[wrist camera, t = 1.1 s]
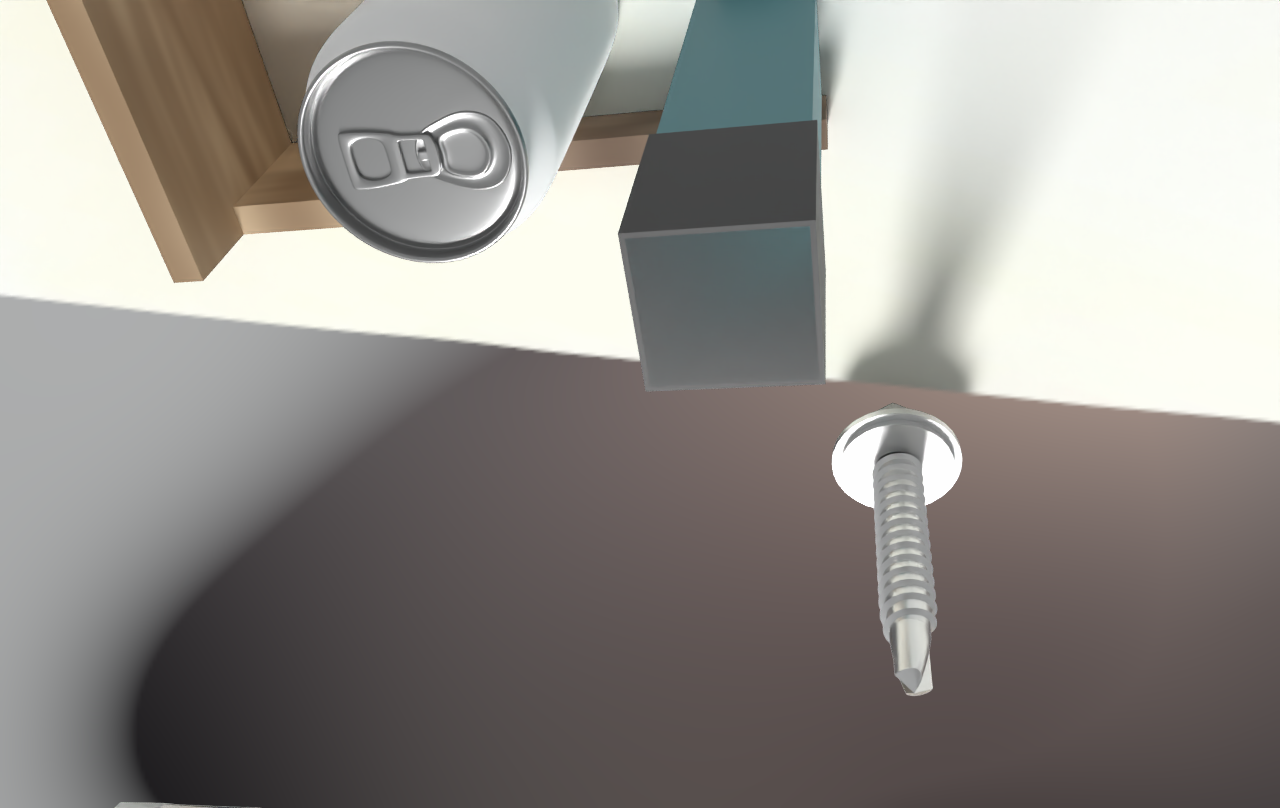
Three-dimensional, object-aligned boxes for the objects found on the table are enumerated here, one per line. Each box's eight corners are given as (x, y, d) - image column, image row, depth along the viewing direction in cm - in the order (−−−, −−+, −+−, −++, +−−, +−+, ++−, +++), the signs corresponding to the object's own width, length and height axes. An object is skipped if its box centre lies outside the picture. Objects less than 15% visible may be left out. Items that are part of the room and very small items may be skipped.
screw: (867, 362, 42) (980, 407, 43) (811, 450, 45) (918, 491, 46) (880, 619, 32) (1029, 674, 32) (806, 711, 35) (945, 760, 35)
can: (634, 90, 37) (568, 271, 27) (450, 106, 38) (327, 285, 29) (603, -118, 33) (514, 8, 24) (400, -93, 34) (239, 37, 25)
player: (817, -142, 32) (810, 124, 17) (828, 76, 35) (829, 454, 20) (706, -127, 32) (601, 141, 17) (728, 86, 36) (658, 459, 21)
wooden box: (810, -215, 31) (807, -159, 25) (827, 124, 37) (827, 240, 30) (168, -123, 35) (22, -53, 28) (275, 171, 41) (173, 282, 34)
